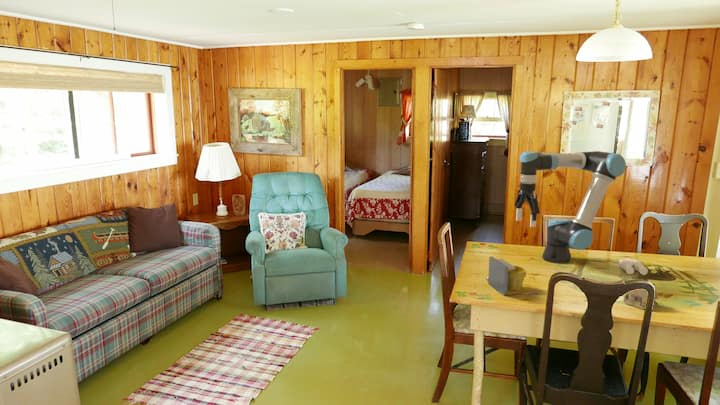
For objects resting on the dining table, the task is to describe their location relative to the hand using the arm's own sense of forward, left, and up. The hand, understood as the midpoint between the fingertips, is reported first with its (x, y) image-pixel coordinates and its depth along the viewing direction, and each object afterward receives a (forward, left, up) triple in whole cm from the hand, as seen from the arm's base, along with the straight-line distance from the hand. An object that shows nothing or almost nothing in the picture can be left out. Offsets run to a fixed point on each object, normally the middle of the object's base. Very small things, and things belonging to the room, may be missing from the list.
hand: (525, 223), depth 255 cm
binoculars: (-58, +9, -27) cm, 65 cm away
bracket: (+15, +18, -27) cm, 36 cm away
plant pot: (+15, +18, -27) cm, 36 cm away
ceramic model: (-29, +49, -27) cm, 63 cm away
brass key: (+19, +4, -27) cm, 33 cm away
